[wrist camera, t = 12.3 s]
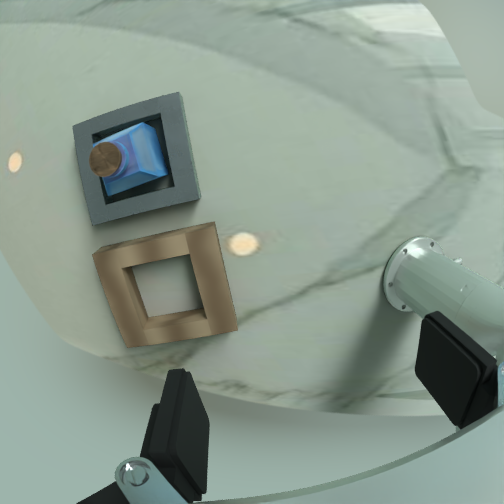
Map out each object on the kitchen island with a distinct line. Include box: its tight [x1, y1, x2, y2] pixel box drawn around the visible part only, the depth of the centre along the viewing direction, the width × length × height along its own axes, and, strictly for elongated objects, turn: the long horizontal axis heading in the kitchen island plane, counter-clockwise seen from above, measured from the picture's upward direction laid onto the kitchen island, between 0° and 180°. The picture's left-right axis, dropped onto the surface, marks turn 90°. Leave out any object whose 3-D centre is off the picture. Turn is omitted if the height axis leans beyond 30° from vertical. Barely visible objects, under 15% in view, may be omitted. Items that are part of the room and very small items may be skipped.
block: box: [73, 92, 201, 226], centre depth 33 cm, size 14×13×3 cm
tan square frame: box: [92, 222, 238, 348], centre depth 38 cm, size 16×14×4 cm
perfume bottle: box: [89, 122, 169, 196], centre depth 29 cm, size 6×6×12 cm
